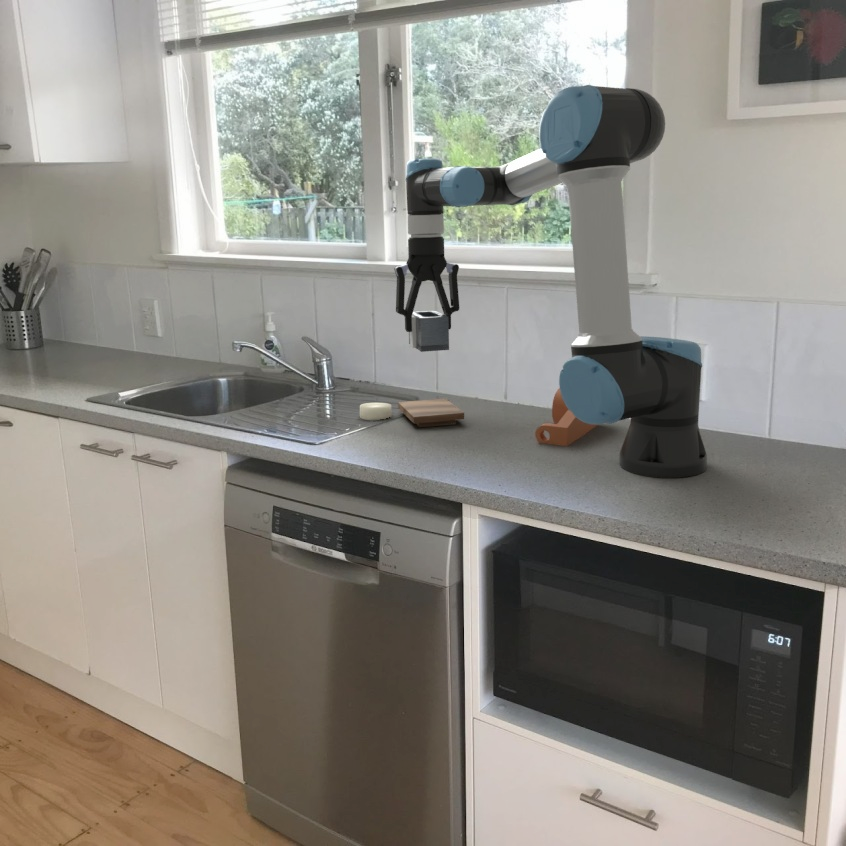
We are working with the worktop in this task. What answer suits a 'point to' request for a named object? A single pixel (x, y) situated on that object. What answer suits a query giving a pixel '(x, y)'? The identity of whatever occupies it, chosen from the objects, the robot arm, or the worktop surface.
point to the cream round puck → (375, 411)
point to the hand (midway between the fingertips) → (428, 345)
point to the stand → (431, 412)
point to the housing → (431, 331)
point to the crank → (562, 425)
